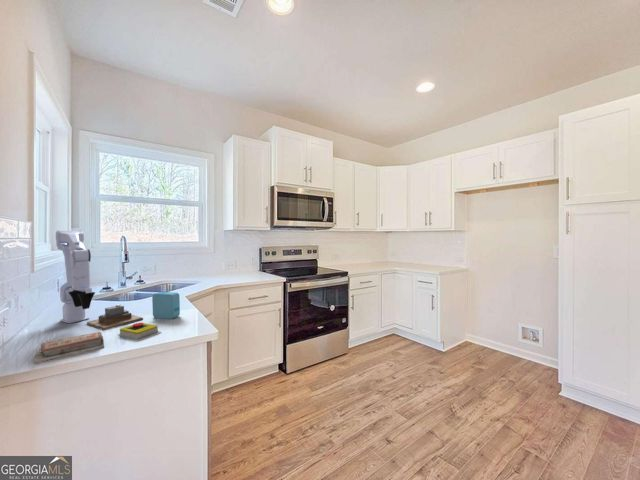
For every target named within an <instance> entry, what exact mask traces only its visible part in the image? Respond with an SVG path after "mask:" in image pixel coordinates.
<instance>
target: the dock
mask: <svg viewBox="0 0 640 480" xmlns="http://www.w3.org/2000/svg"><path fill="white" fill-rule="evenodd" d="M139 320H140V321H143V320H144V317H142V316H138V315H134V314H132V312H130V311H129V312H128V313H124V314H123V315H119V316H114V317H110V318H108V317H106V318H103V317H100V315H99V316H98V318H97V319H94V320H89V321H86V325H88V326H92V327H94V328H97V329H100V330H103V331H106V330H109V329H113V328H116V327H119V326H120V327H121V326H124V325H128V324H132V323H135V321H136V322H140V321H139Z"/></svg>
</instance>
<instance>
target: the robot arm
mask: <svg viewBox="0 0 640 480" xmlns="http://www.w3.org/2000/svg"><path fill="white" fill-rule="evenodd" d="M84 238H85V237H84V231H82V230H59V229H58V230H56V231H55V243H56V247H57V250H60V251H61V252H62V253H63V258H64V266H65V274H66V282H65V283H64V284H62V285H61V286H60V289H59V299H60V302H61V303H63V305H62V318H61V319H59V320H60V321H61V322H64V323H65V324H72V323H76V322H80V321H85V320H89V319H90V318H89V317H88V316H86V309H90V307H91V304H92V303H91V302H92V299H93V297H94V295H95V294H96V292H95V291H93V288H92V287H91V283H90V282H91V281H90V279H91V278H90V275H91V274H90V262H91V258H92V254H91V250H90V249H89V248H86V246H85V244H84V241H85V240H84Z"/></svg>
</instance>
